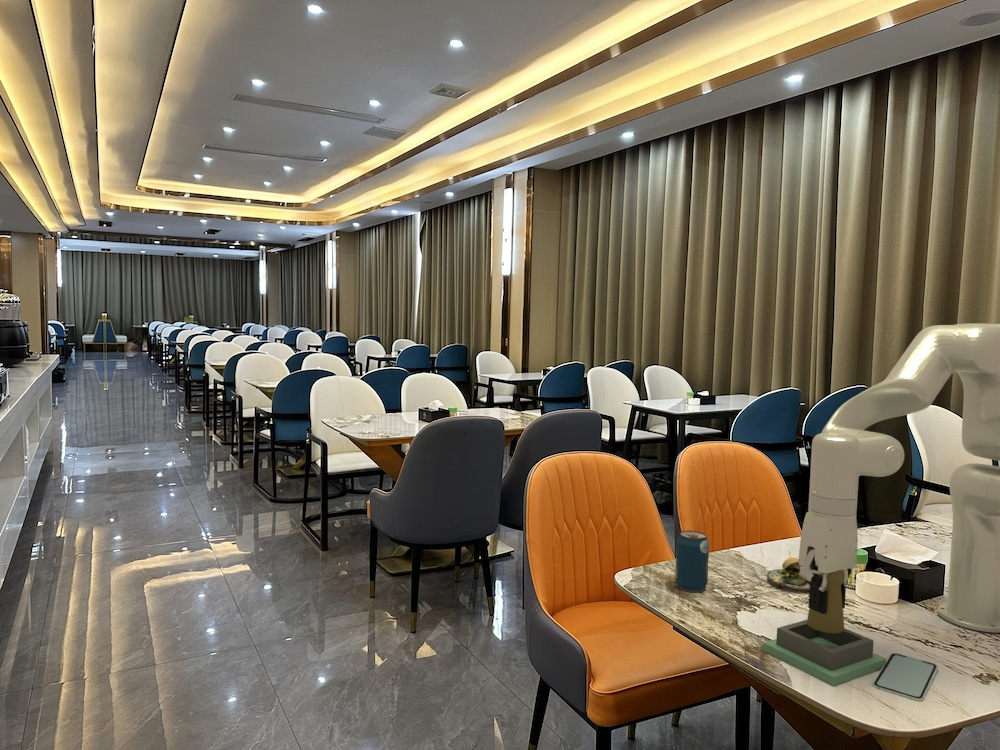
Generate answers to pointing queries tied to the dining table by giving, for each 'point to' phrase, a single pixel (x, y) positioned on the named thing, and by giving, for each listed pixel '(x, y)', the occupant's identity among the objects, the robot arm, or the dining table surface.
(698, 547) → the soda can
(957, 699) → the dining table surface
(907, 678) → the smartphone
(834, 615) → the olive brown pawn
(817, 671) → the socket board
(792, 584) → the burger
